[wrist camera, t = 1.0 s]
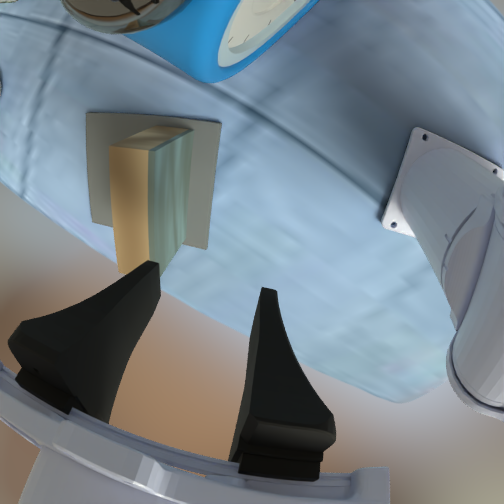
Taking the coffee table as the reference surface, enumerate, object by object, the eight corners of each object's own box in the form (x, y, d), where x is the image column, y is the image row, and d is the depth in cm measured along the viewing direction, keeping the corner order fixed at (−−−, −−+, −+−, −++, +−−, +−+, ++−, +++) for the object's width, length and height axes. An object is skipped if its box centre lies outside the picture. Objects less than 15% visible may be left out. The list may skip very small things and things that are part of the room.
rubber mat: (221, 123, 19) (220, 123, 18) (207, 247, 25) (206, 249, 24) (89, 112, 19) (86, 113, 19) (94, 220, 25) (92, 222, 25)
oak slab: (194, 130, 19) (155, 151, 14) (186, 237, 24) (156, 283, 19) (156, 125, 19) (109, 145, 14) (153, 230, 24) (118, 272, 19)
